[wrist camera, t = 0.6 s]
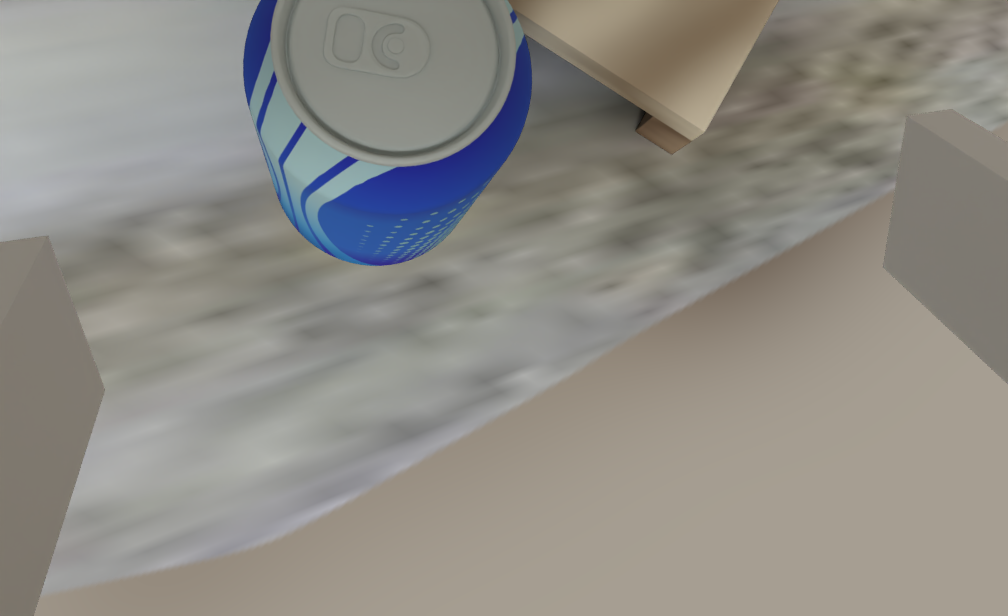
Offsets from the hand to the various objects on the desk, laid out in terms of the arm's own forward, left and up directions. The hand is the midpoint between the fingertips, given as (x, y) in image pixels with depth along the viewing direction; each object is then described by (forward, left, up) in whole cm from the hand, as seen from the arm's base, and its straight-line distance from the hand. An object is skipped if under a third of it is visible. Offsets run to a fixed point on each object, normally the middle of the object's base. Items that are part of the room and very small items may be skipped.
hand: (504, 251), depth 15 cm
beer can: (-4, +6, -27) cm, 28 cm away
